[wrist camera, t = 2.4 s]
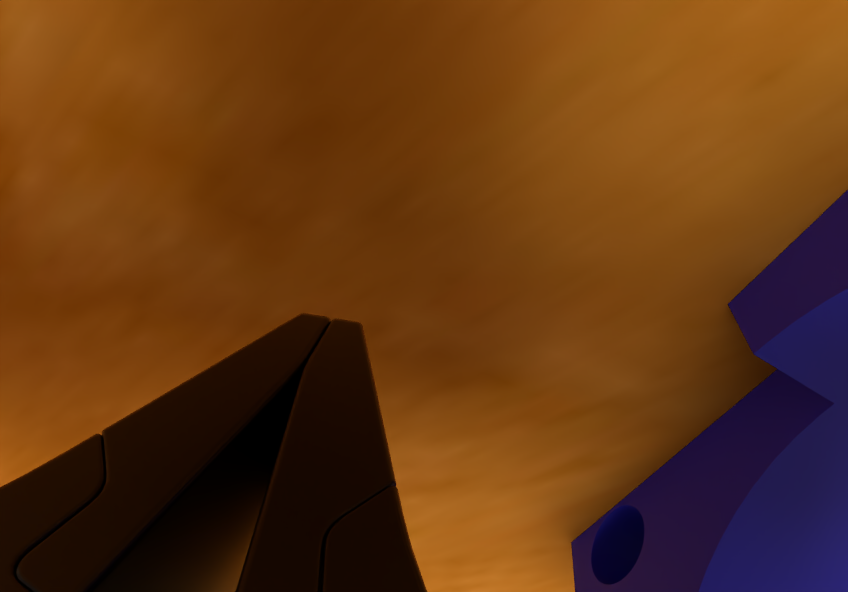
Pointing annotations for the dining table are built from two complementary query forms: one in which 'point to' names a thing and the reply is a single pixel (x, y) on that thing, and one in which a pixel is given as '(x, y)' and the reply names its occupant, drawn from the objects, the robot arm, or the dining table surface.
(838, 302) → the blue half clamp bracket
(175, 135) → the dining table surface
